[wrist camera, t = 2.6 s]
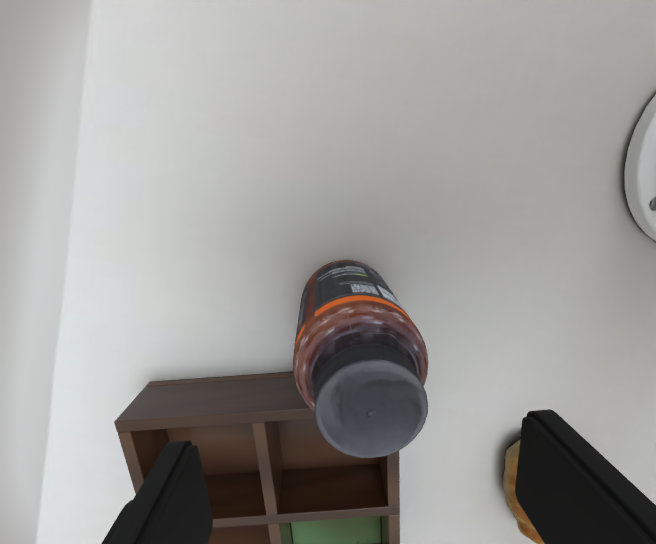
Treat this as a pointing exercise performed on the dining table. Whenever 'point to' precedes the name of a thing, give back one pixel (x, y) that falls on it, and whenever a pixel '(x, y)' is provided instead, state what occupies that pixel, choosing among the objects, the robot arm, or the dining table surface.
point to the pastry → (511, 499)
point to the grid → (264, 462)
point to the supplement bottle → (360, 361)
